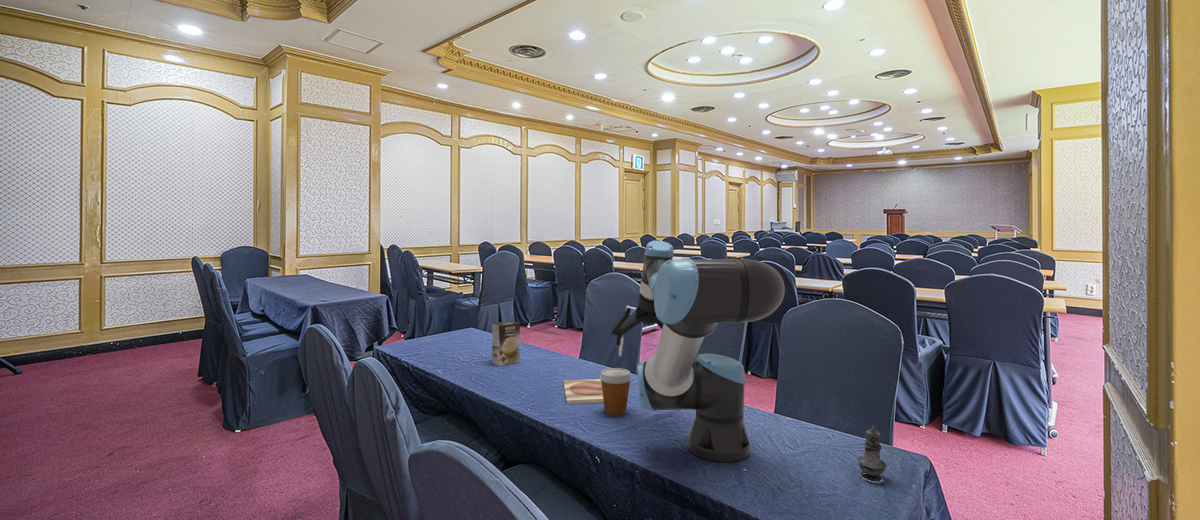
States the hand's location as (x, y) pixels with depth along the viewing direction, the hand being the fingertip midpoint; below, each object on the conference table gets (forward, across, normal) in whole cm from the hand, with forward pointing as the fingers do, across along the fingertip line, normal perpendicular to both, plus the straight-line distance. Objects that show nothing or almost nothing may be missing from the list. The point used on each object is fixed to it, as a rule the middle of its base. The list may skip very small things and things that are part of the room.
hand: (642, 355), depth 160 cm
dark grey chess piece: (-4, -49, +43) cm, 66 cm away
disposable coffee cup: (+16, +6, +8) cm, 19 cm away
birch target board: (+22, +14, -8) cm, 28 cm away
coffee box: (+38, +47, -39) cm, 72 cm away
